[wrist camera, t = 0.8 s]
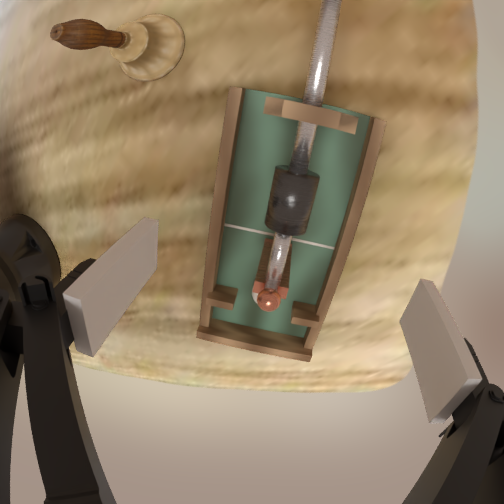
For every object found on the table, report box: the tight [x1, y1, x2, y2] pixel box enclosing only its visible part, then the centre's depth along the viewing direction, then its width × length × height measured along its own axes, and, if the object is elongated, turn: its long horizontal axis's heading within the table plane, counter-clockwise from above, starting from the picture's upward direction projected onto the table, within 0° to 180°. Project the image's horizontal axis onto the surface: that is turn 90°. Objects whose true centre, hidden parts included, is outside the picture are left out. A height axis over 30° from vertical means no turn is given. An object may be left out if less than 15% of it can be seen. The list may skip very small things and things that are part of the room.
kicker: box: [253, 0, 342, 312], centre depth 24 cm, size 3×27×11 cm, turn 170°
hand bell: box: [50, 14, 185, 81], centre depth 21 cm, size 8×8×16 cm
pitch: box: [196, 87, 387, 362], centre depth 31 cm, size 15×30×12 cm, turn 170°
